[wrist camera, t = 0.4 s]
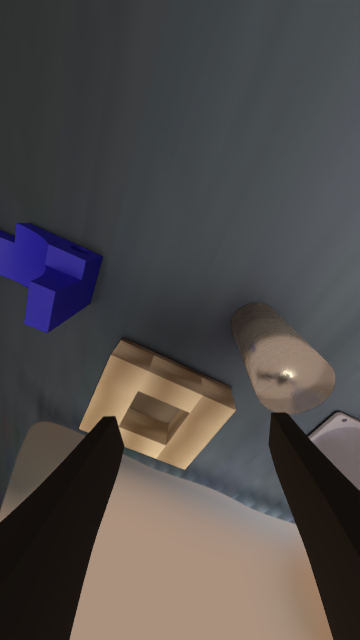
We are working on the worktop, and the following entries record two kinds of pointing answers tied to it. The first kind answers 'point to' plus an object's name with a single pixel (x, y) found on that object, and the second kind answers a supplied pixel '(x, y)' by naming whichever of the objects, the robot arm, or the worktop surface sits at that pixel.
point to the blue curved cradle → (49, 274)
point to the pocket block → (159, 404)
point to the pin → (280, 361)
